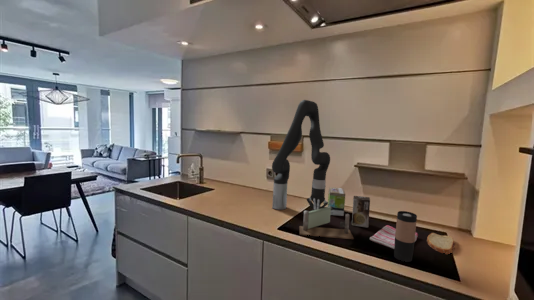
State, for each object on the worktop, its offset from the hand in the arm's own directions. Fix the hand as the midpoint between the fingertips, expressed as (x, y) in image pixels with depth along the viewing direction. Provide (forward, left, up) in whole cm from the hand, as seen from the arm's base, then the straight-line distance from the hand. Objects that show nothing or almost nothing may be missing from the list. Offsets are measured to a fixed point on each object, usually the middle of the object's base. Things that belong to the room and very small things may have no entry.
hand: (316, 215), depth 152 cm
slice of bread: (+61, -16, -5) cm, 63 cm away
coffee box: (+25, +2, -4) cm, 26 cm away
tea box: (+14, +22, -5) cm, 27 cm away
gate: (+1, -6, -3) cm, 7 cm away
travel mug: (+35, -34, -4) cm, 49 cm away
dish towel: (+39, -14, -5) cm, 41 cm away
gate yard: (+4, -14, -4) cm, 15 cm away
